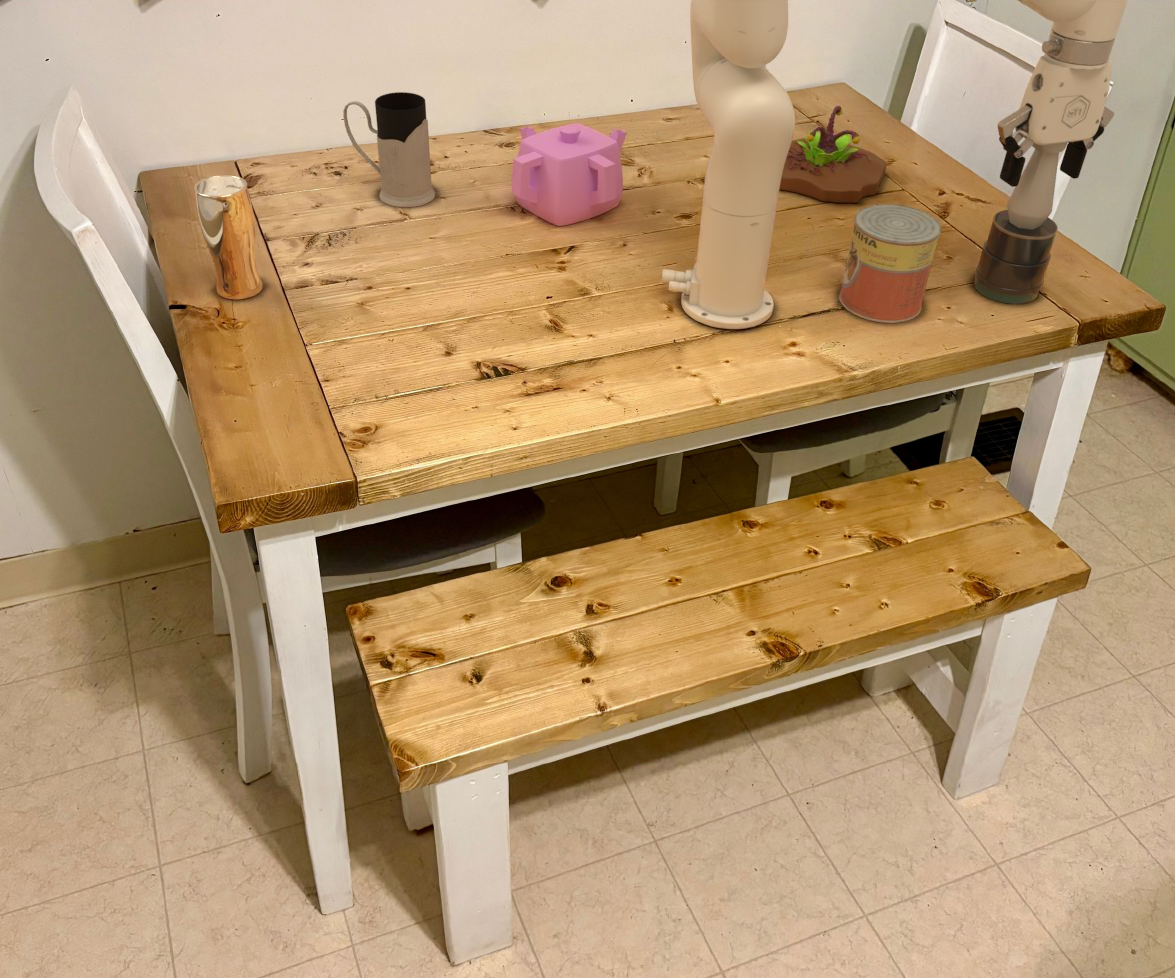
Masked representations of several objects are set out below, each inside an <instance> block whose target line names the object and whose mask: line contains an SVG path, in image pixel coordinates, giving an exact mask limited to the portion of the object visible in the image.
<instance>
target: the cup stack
mask: <svg viewBox="0 0 1175 978" xmlns="http://www.w3.org/2000/svg"><path fill="white" fill-rule="evenodd" d="M1057 233H1058V225H1057V223H1056V222H1055V221H1054V220H1053V219H1052V218H1050V217H1048V218H1047V219H1046V220H1045V221H1044V222H1043V224H1042V225H1041V226H1040V227H1037V228H1035V229H1033V230H1031V229H1023V228H1018V227H1016V226H1015V225H1013V224H1011V223H1010V221H1009V214H1008V209H1004V210H1000V211H998V212H996V213H995V214H994V216H993V218H992V222H991V226H990V229H989V232H988V235H987V239H986V240H985V241H984V242H983V246H982V249H981V252H980V256H979V260H978V263H977V265H976V266H975V270H974V281H973V282H974V283H973V284H974V288H975V289H976V290H977V292H978V293H980V294H981V295H982V296H984V297H986V298H987V299H990V300H992V301H995V302H1000V303H1003V304H1010V305H1011V304H1012V305H1022V304H1023V305H1024V304H1027V303H1031V302H1033V301H1034V300H1035V299H1036V298H1037V297H1038V294H1039V292H1040V291H1041V290H1042V289H1043V286H1044V283H1045V277H1046V274H1047V271H1048V268H1049V264H1050V261H1051V258H1052V255H1051V251H1052V249H1053V248H1052V247H1053V244H1054V241H1055V239H1056V236H1057Z"/></svg>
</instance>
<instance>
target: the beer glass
mask: <svg viewBox="0 0 1175 978" xmlns="http://www.w3.org/2000/svg"><path fill="white" fill-rule="evenodd" d="M193 190H194V196H195V205H196V212H197V217H198V219H197V220H198V223H199V226H200V230H201V234H202V236H203V239H204V241H205V244H206V246H207V249H208V251H209V253H210V256H211V258H212V261H213V264H214V268H215V275H216V276H215V279H216V280H215V281H216V282H215V283H216V285H215V286H216V292H217V294H218V295H219V296H220V297H222V298H224V299H228V300H237V301H238V300H245V299H249V298H252V297H254V296H257V295H258V294H259V293H261V291H262V289H263V287H264V285H263V281H262V279H261V276H260V274H259V271H258V267H257V262H256V221H255V213H254V208H253V203H252V199H251V194H250V191H249V188H248V182H247V181H246V180H245V179H244V178H243V177H241V176H237V175H231V174H218V175H212V176H211V175H210V176H207V177H205V178H201V180H199V181H197V182H196V183H195V184H194V186H193Z"/></svg>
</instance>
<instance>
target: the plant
mask: <svg viewBox="0 0 1175 978" xmlns="http://www.w3.org/2000/svg"><path fill="white" fill-rule="evenodd" d="M841 115H843V107H842V106H841V105H836V106H835V107H834V108H833V110H832V112H831V114H830V117H829V118H828V123H827V126H826V129H825V127H824V126H820V125H819V126H817V127H816V128H815V129H812V130H810V132H809V133H808V134H807V135H806V136H805V137H804V138H797V139H792V142H791V145H790V148H789V151H788V154H787V157H786V161H785V164H784V168H783V172H782V177H781V183H780V188H779V191H780V190H781V191H786V192H791V193H796V194H799V195H803V196H807V197H811V198H812V199H813V198H814V199H816V200H819V201H820V202H824V203H825V202H829V203H836V204H845V203H849V204H851V203H852V204H859V203H860V200H861V199H862V198H864V197H869V196H874V195H876V194H877V192H878V190H879V188H880V186H881V184H882V181H883V179H884V178H885V174H886V171H887V170H886V169H887V161H886V160H884V159H882V158H881V157H879V156H878V155H876V154H875V153H874V152H872V151H869V150H867V149H864V148H861V147H858V146H855V145H859V143H860V141H861V136H860V134H858V133H857V132H856V131H854V130H849V129H845V130H842V131H840V132H838V133H836V134H835V131H834V127H835V125H834V124H835V119H836V116H837V117H838V116H841ZM851 143H852V144H854V145H851Z"/></svg>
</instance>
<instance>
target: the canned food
mask: <svg viewBox="0 0 1175 978" xmlns="http://www.w3.org/2000/svg"><path fill="white" fill-rule="evenodd" d="M941 232H942V226H941V223H940V222H939V221H938V220H937V219H936V218H935V217H934V216H933V215H931V214H929V213H927V212H926V211H924V210H921V209H917V208H914V207H911V206H907V205H903V204H893V203H880V204H873V205H868V206H866V207H863V208H861V209H860V210H858V211H857V212H856V214H855V216H854V224H853V230H852V234H851V239H850V244H849V249H848V254H847V258H846V259H847V260H846V265H845V270H844V275H843V279H842V283H841V290H840V292H839V296H838V297H839V302H840V304H841V305H842V307H843V308H844V309H845V310H846V311H848V312H849V313H851V314H853V315H854V316H856V317H859V318H861V319H864V320H867V321H871V322H875V323H876V322H877V323H882V324H898V323H904V322H909V321H911V320H913V319H914V318H916V317H917V316H919V315H920V313H921V311H922V304H923V300H924V296H925V292H926V289H927V285H928V281H929V278H930V273H931V269H932V265H933V261H934V258H935V257H934V256H935V254H936V251H937V250H936V249H937V245H938V241H939V237H940V234H941Z"/></svg>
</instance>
